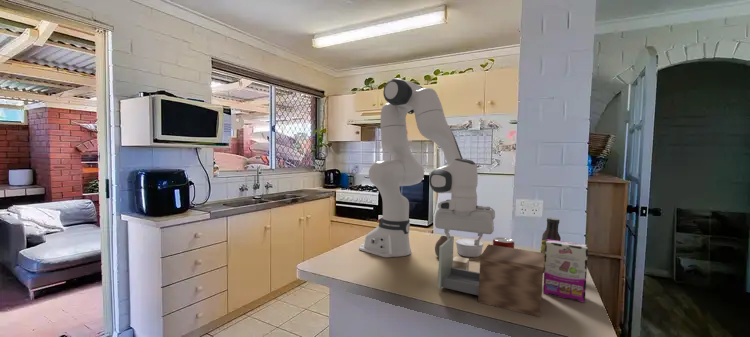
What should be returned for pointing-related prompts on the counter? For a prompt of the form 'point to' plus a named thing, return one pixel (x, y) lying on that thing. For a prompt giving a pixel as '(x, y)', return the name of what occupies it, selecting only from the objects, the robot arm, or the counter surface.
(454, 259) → the block
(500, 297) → the tan box
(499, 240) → the soda can
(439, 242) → the vase
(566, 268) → the candy bar box
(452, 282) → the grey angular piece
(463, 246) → the ramekin
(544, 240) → the sauce bottle
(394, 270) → the counter surface
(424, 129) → the robot arm
